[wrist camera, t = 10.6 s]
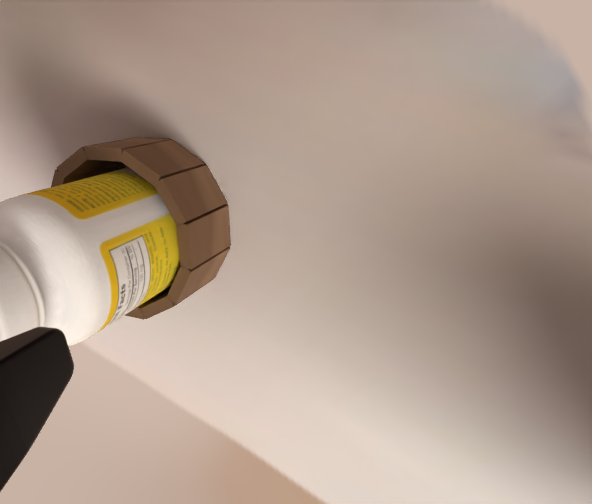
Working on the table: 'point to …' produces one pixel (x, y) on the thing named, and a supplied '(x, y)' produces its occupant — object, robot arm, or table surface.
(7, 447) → the robot arm
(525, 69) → the table surface
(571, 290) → the table surface
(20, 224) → the supplement bottle
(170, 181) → the holder
